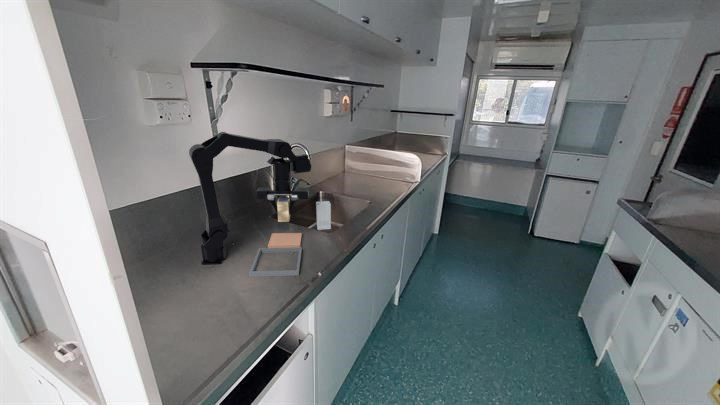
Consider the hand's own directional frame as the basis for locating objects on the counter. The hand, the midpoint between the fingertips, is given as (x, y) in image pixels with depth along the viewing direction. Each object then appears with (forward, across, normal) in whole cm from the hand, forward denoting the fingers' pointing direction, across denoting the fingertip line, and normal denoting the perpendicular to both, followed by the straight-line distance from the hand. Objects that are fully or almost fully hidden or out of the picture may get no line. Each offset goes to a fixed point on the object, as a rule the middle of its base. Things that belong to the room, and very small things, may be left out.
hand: (284, 214), depth 111 cm
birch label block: (+2, 0, 0) cm, 2 cm away
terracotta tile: (+12, 0, 0) cm, 12 cm away
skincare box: (+12, -15, -12) cm, 23 cm away
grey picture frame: (+12, +1, +15) cm, 19 cm away
